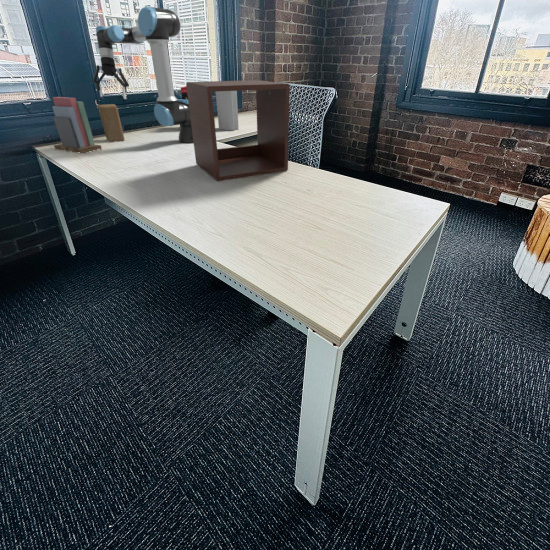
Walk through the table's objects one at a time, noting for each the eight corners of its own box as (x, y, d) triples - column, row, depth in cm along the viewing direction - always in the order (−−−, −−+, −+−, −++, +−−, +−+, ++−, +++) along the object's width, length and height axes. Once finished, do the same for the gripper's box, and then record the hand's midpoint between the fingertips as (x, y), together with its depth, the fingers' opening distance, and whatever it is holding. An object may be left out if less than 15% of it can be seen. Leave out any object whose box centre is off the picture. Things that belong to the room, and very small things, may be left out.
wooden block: (107, 142, 205) (98, 106, 194) (106, 139, 212) (97, 104, 201) (125, 141, 208) (116, 105, 197) (123, 138, 216) (115, 103, 205)
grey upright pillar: (238, 129, 241) (236, 82, 225) (234, 130, 237) (231, 82, 221) (223, 127, 248) (220, 81, 231) (218, 129, 244) (214, 81, 227)
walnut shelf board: (101, 148, 190) (100, 145, 189) (83, 153, 181) (82, 149, 180) (73, 145, 199) (72, 141, 198) (54, 149, 190) (53, 145, 189)
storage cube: (216, 181, 140) (206, 86, 121) (196, 165, 161) (185, 82, 142) (287, 170, 153) (289, 83, 134) (260, 156, 175) (259, 80, 156)
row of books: (95, 144, 190) (81, 97, 177) (79, 148, 183) (63, 99, 169) (77, 142, 196) (62, 96, 183) (61, 145, 188) (44, 98, 175)
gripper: (127, 63, 208) (132, 100, 215) (82, 55, 193) (89, 96, 200) (130, 60, 202) (136, 98, 209) (85, 52, 188) (92, 94, 194)
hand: (113, 97), depth 205 cm, fingers open, 13 cm apart
